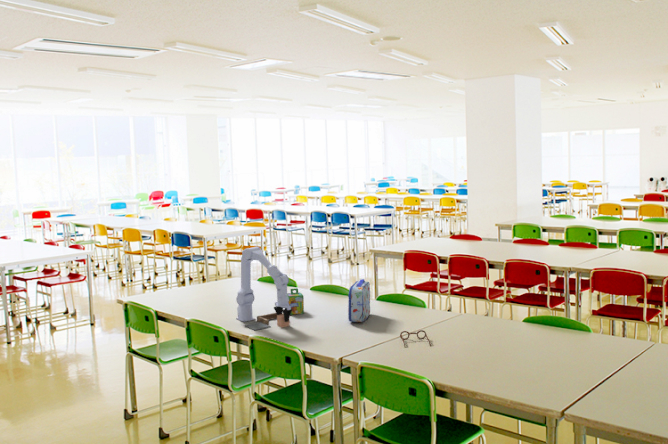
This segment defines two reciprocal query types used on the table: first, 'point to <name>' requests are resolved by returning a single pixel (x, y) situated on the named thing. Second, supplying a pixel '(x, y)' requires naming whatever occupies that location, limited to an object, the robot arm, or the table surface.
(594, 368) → the table surface
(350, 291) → the lunch box
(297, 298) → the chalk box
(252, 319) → the robot arm
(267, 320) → the walnut stall
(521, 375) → the table surface
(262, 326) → the slate mat
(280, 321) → the terracotta block
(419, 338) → the glasses
